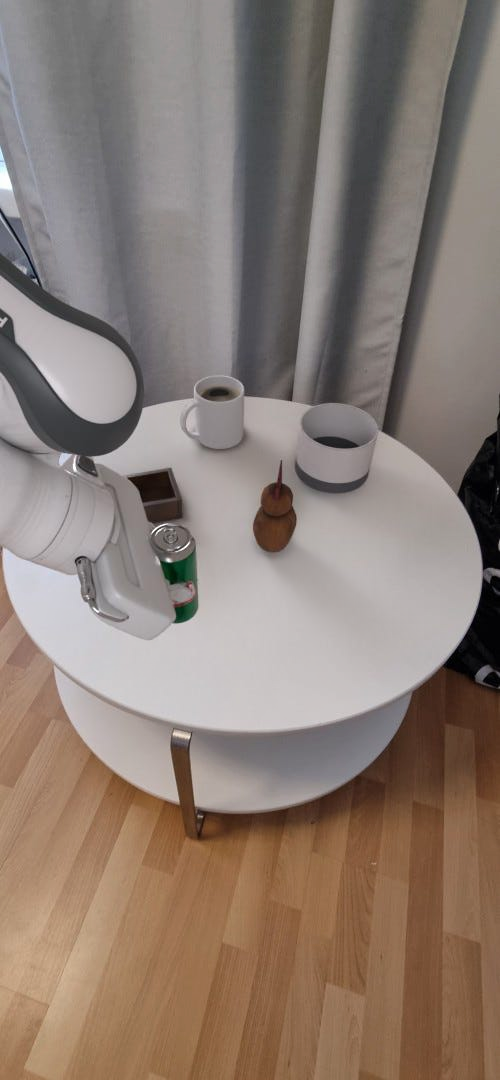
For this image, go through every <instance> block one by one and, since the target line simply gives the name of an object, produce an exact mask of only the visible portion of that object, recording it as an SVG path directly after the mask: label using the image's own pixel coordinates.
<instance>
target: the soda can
mask: <svg viewBox="0 0 500 1080" xmlns="http://www.w3.org/2000/svg"><path fill="white" fill-rule="evenodd" d="M149 541H150V545H151V547H152V548H153V549H154V550H155V552H156V554H157V556H158V557H159V560H160V563H161V567H162V570H163V573H164V576H165V579H167V580H169V582H170V585H172V584H173V583H174V581H176V580H177V579H181V580H183V581H184V582H185V581H186V582H188V584H189V587H190V590H191V592H192V595H191V596H190V597H189V598H188V599H187V600H185V601H184V602H178V601H175V600H172V599H171V600H172V603H173V606H174V609H175V613H176V619H175V621H174V622H173V623H172V624H174V625H177V624H183V623H185V622H188V621H190V620H191V619H193V618H194V617H195V616H196V614H197V613H198V610H199V585H198V583H199V582H198V565H197V562H198V561H197V542H196V540H195V537H194V536H193V535H192V533H191V531H190V530H189V528H188V527H186V526H184V525H182V524H180V523H171V522H170V523H164V524H161V525H158V526H156V529H155V530H154V531H153V532H152V533H151V535H150V539H149Z"/></svg>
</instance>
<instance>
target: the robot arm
mask: <svg viewBox="0 0 500 1080" xmlns="http://www.w3.org/2000/svg"><path fill="white" fill-rule="evenodd" d="M144 383H145V382H144V377H143V372H142V369H141V366H140V363H139V360H138V358H137V356H136V354H135V352H134V350H133V348H132V347H131V345H130V343H129V342H128V340H126V338H125V337H124V336H123V335H122V334H121V333H120V332H119V331H118V330H117V329H116V328H114V327H113V326H111V325H110V324H109V323H107V322H106V321H104V320H102V319H100V318H98V317H96V316H94V315H92V314H90V313H88V312H85V311H83V310H81V309H78V308H76V307H74V306H72V305H70V304H68V303H66V302H64V301H63V300H61V299H59V298H57V297H55V296H54V295H53V294H51V293H50V292H48V290H45V288H43V287H42V286H41V285H39V284H38V283H37V282H35V281H34V280H33V279H32V278H31V277H30V276H28V275H27V274H26V273H25V272H24V271H23V270H22V269H20V268H19V267H17V266H16V265H15V264H14V263H13V262H11V261H10V260H9V259H8V258H7V257H6V256H4V255H3V254H2V253H1V252H0V547H1V548H4V549H5V550H7V551H9V552H10V553H11V554H12V555H14V556H15V557H17V558H19V559H21V560H23V561H28V562H30V563H33V564H35V565H38V566H41V567H44V568H47V569H49V570H52V571H55V572H58V573H61V574H64V575H66V576H77V578H78V580H79V583H80V594H81V598H82V600H83V602H84V603H87V604H88V606H89V608H90V610H91V612H92V613H93V615H94V616H95V617H96V618H97V619H98V620H100V621H102V622H103V623H105V624H107V625H108V626H110V627H112V628H113V629H114V628H115V629H116V630H119V631H121V632H123V633H126V634H128V635H130V636H133V637H136V638H138V639H141V640H144V641H153V640H154V639H156V638H158V637H159V636H161V635H162V634H163V633H164V632H165V631H166V630H167V629H169V627H170V626H171V625H172V624H174V623H173V622H174V621H175V619H176V613H175V609H174V606H173V603H172V600H175V601H178V602H184V601H185V600H187V599H188V598H189V597H190V596H191V595H192V592H191V590H190V587H189V584H188V582H186V581H185V582H184V581H183V580H181V579H177V580H176V581H174V583H173V584H172V585H170V582H169V580H167V579H165V576H164V573H163V570H162V567H161V563H160V560H159V557H158V556H157V554H156V552H155V550H154V549H153V548H152V547H151V545H150V541H149V539H150V535H151V533H152V532H153V531H154V530H155V529H156V528H157V526H156V525H154V524H152V523H151V522H149V521H148V520H147V517H146V514H145V510H144V507H143V504H142V500H141V497H140V493H139V490H138V489H137V488H136V487H135V485H134V484H133V483H132V482H131V481H130V480H128V479H127V478H125V477H124V476H123V475H122V474H120V473H119V472H117V471H116V470H114V469H112V468H110V467H108V466H106V465H104V464H102V463H99V462H95V459H94V458H93V457H101V456H104V455H108V454H110V453H112V452H114V451H116V450H118V449H119V448H121V447H122V446H123V445H124V444H125V443H126V442H128V440H129V439H130V438H131V436H133V434H134V432H135V430H136V428H137V427H138V425H139V422H140V421H141V420H140V419H141V418H142V417H141V416H142V412H143V409H144V403H145V385H144ZM62 454H67V455H70V456H69V457H68V458H67V459H66V460H65V461H64V462H63V464H61V465H60V458H61V455H62ZM171 599H172V600H171Z"/></svg>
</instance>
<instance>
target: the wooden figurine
mask: <svg viewBox="0 0 500 1080" xmlns="http://www.w3.org/2000/svg"><path fill="white" fill-rule="evenodd" d="M276 479H277V480H276V482H271V483H269V484H267V485H266V486H265V487H264V488H263V490H262V492H261V495H260V507H258V510H257V511H256V513H255V516H254V519H253V523H252V532H253V535H254V539H255V541H256V544H257V545H258V546H259V547H260V548H261V549H262V550H263V551H265V552H268V553H278V552H281V551H282V550H284V549H285V548H286V547H287V546H288V544H289V543H290V541H291V539H292V537H293V535H294V532H295V530H296V527H297V522H298V520H297V519H298V518H297V513H296V510H295V508H294V506H293V503H294V493H293V491H292V488H291V487H290V486H288V485H287V484H285V483H283V460H282V459H281V460H280V463H279V468H278V474H277V478H276Z"/></svg>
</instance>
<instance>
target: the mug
mask: <svg viewBox="0 0 500 1080" xmlns="http://www.w3.org/2000/svg"><path fill="white" fill-rule="evenodd" d="M193 409H194V419H195V420H194V422H195V423H194V424H195V425H194V426H195V431H189V430H188V429H187V419H188V416H189V414H190V413H191V411H193ZM244 417H245V387H244V384H243V383H242V382H241V381H240V380H238V379H237V378H235V377H232V376H228V375H224V374H223V375H221V374H218V375H217V374H216V375H209V376H205V377H203V378H201V379H200V380H198V381H197V382H196V383H195V384H194V388H193V399H192V400H190V401H189V402H187V404H186V405H185V406H184V407H183V409H182V410H181V413H180V418H179V423H180V424H179V426H180V428H181V431H182V432H183V433H184V434H185V435H186V436H187V437H188V438H190V439H194V440H195V439H196V440H197V441H198V442H199V443H200V444H201V445H202V446H205V447H207V448H209V449H212V450H213V449H214V450H226V449H230V448H233V447H235V446H238V445H239V444H240V442H242V440H243V437H244V421H245V420H244V419H245V418H244Z"/></svg>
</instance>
